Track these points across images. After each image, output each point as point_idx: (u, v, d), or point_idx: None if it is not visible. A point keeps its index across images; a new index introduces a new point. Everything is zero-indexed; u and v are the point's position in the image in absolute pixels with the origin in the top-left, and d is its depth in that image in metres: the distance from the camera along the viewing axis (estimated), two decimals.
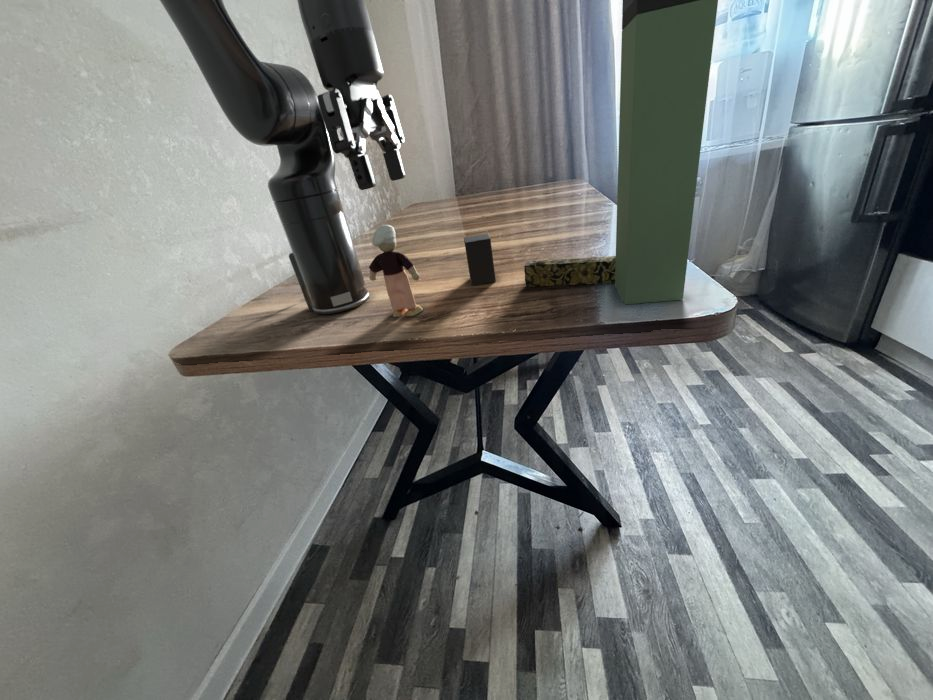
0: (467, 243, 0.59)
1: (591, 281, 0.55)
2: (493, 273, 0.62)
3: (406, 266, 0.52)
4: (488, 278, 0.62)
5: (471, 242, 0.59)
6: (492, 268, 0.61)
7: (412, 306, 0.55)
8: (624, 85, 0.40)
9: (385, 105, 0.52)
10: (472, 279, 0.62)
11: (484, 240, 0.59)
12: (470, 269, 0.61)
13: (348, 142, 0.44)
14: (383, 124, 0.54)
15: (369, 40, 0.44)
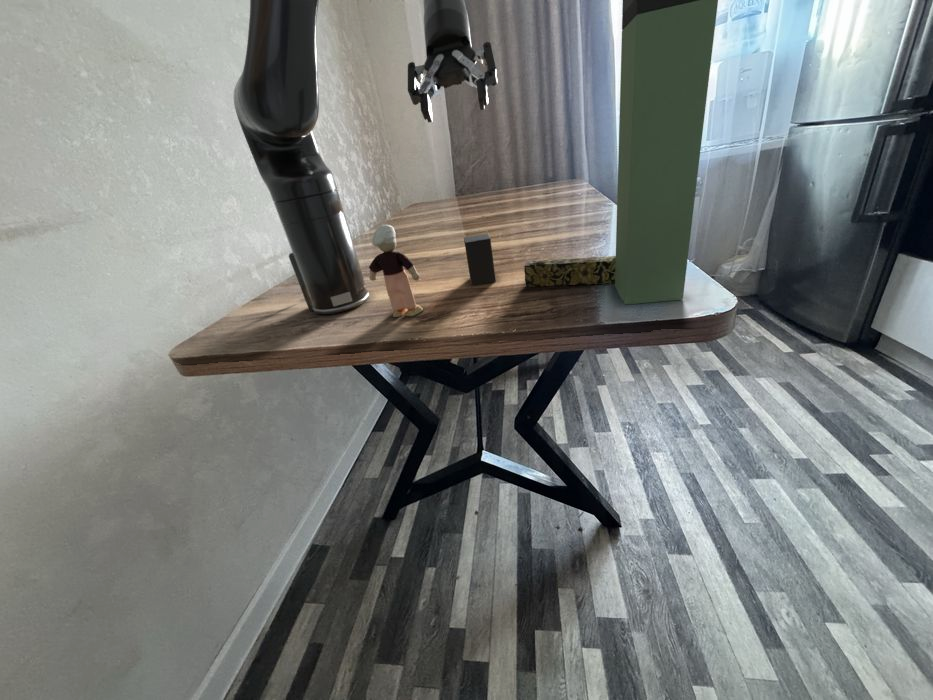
0: (467, 243, 0.59)
1: (591, 281, 0.55)
2: (493, 273, 0.62)
3: (406, 266, 0.52)
4: (488, 278, 0.62)
5: (471, 242, 0.59)
6: (492, 268, 0.61)
7: (412, 306, 0.55)
8: (624, 85, 0.40)
9: None
10: (472, 279, 0.62)
11: (484, 240, 0.59)
12: (470, 269, 0.61)
13: None
14: (415, 79, 0.62)
15: None
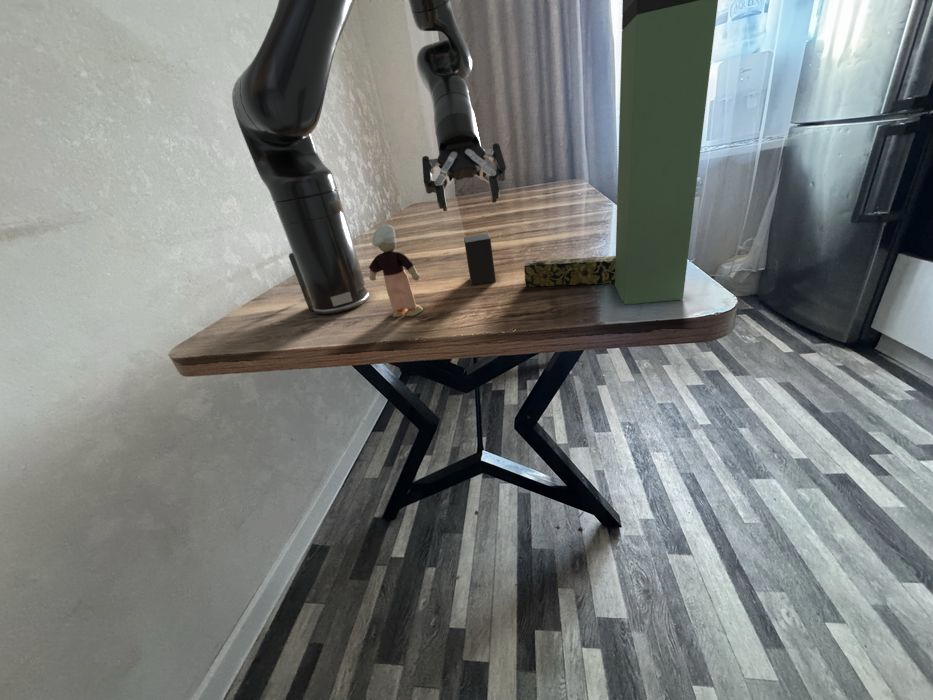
0: (467, 243, 0.59)
1: (591, 281, 0.55)
2: (493, 273, 0.62)
3: (406, 266, 0.52)
4: (488, 278, 0.62)
5: (471, 242, 0.59)
6: (492, 268, 0.61)
7: (412, 306, 0.55)
8: (624, 85, 0.40)
9: None
10: (472, 279, 0.62)
11: (484, 240, 0.59)
12: (470, 269, 0.61)
13: None
14: (430, 172, 0.67)
15: None
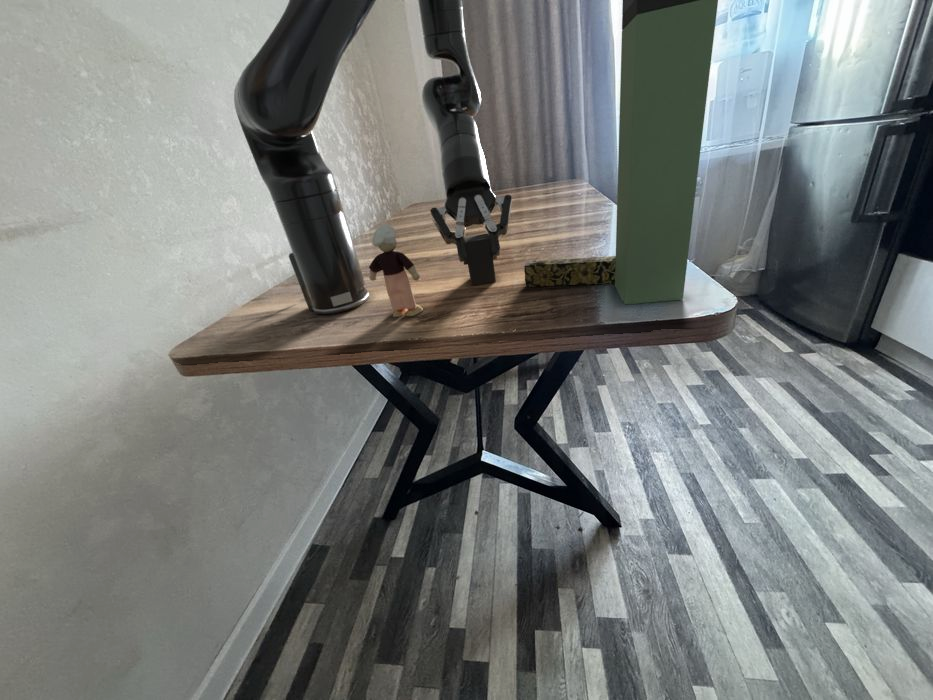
0: (467, 243, 0.59)
1: (591, 281, 0.55)
2: (493, 273, 0.62)
3: (406, 266, 0.52)
4: (488, 278, 0.62)
5: (471, 242, 0.59)
6: (492, 268, 0.61)
7: (412, 306, 0.55)
8: (624, 85, 0.40)
9: None
10: (472, 279, 0.62)
11: (484, 240, 0.59)
12: (470, 269, 0.61)
13: None
14: None
15: None
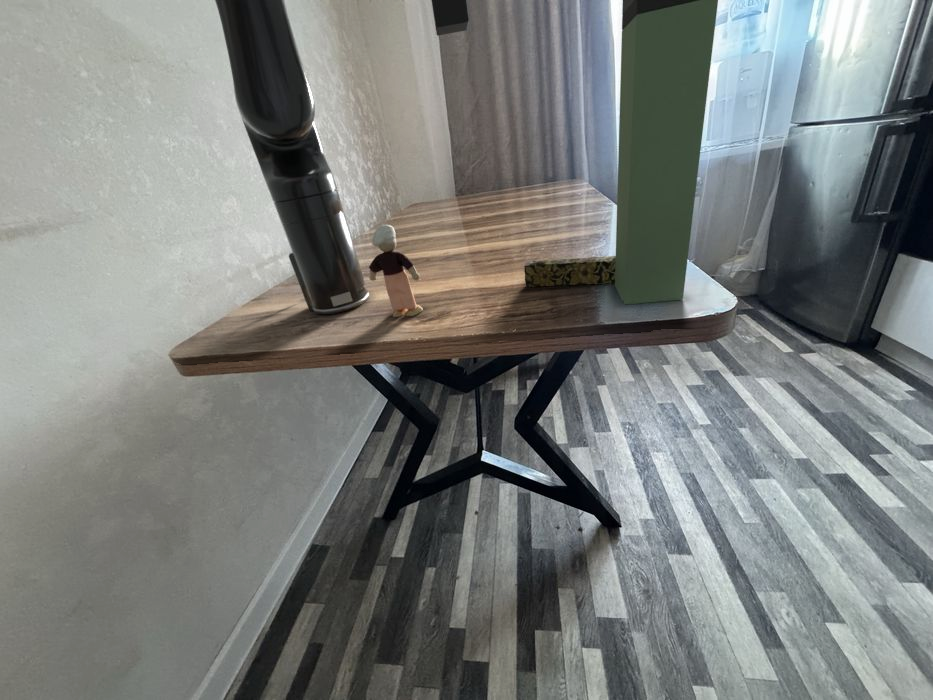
0: None
1: (591, 281, 0.55)
2: (464, 6, 0.46)
3: (406, 266, 0.52)
4: (459, 16, 0.46)
5: None
6: None
7: (412, 306, 0.55)
8: (624, 85, 0.40)
9: None
10: (437, 16, 0.46)
11: None
12: None
13: None
14: None
15: None
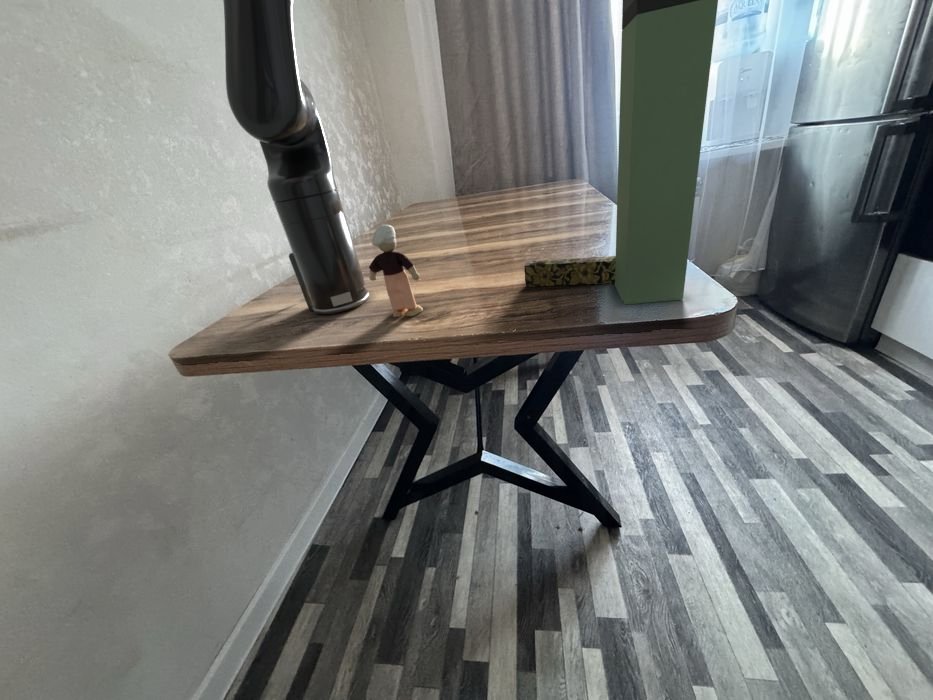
0: None
1: (591, 281, 0.55)
2: None
3: (406, 266, 0.52)
4: None
5: None
6: None
7: (412, 306, 0.55)
8: (624, 85, 0.40)
9: None
10: None
11: None
12: None
13: None
14: None
15: None
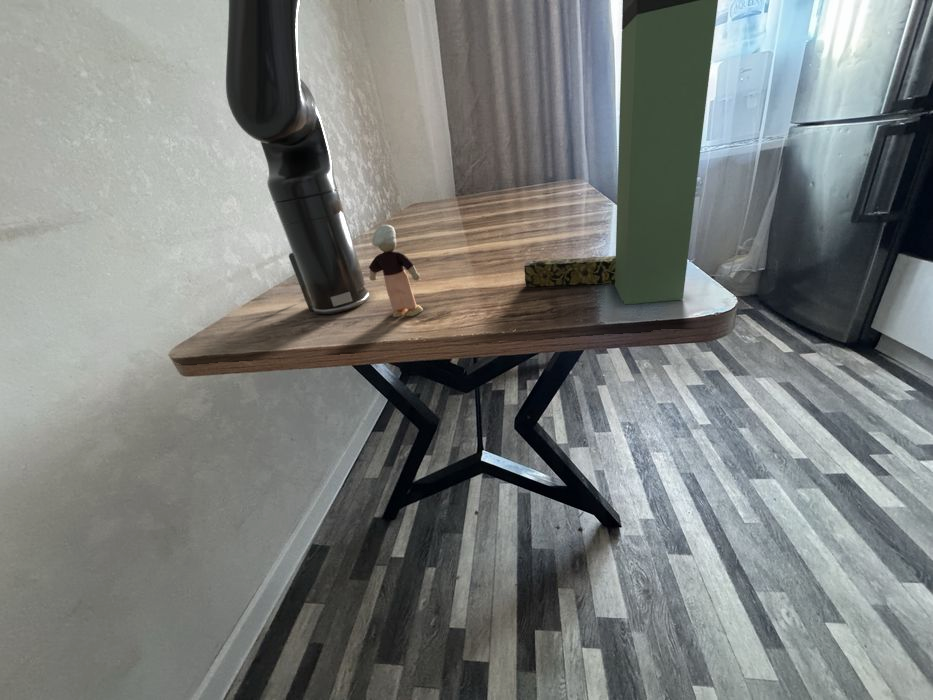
0: None
1: (591, 281, 0.55)
2: None
3: (406, 266, 0.52)
4: None
5: None
6: None
7: (412, 306, 0.55)
8: (624, 85, 0.40)
9: None
10: None
11: None
12: None
13: None
14: None
15: None
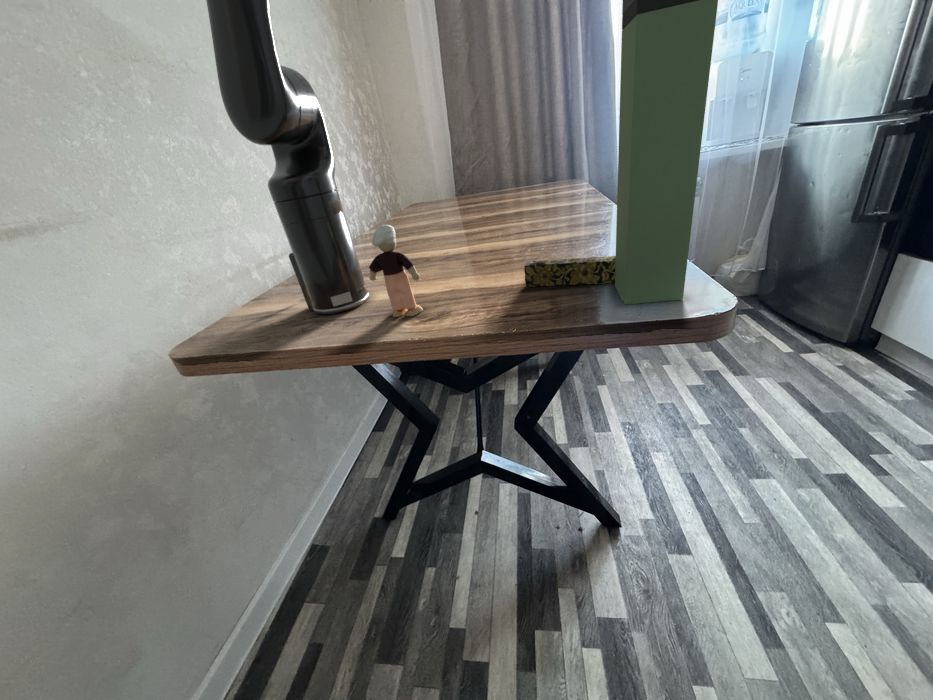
0: None
1: (591, 281, 0.55)
2: None
3: (406, 266, 0.52)
4: None
5: None
6: None
7: (412, 306, 0.55)
8: (624, 85, 0.40)
9: None
10: None
11: None
12: None
13: None
14: None
15: None
